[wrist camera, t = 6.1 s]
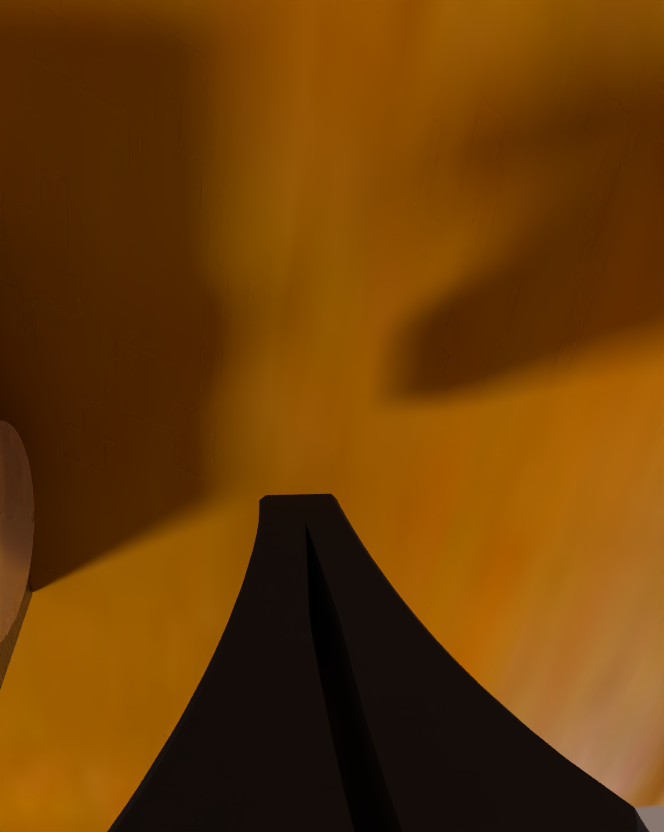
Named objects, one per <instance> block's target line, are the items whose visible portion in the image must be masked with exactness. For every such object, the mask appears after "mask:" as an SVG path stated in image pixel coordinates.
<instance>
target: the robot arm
mask: <svg viewBox="0 0 664 832" xmlns="http://www.w3.org/2000/svg"><path fill="white" fill-rule="evenodd" d="M107 832H649V831H648V829H647V828H646V826H645V825H644V823H643V821H642V820H641V818H640V817H639V815H638V813H637V812H636V810H635V808H634V807H633V806H631V805H630V804H629V803H627V802H626V801H625V800H623V799H622V798H620V797H619V796H618V795H616V794H615V793H613V792H612V791H611V790H609V789H608V788H606V787H605V786H604V785H602V784H601V783H599V782H598V781H597V780H595V779H594V778H592V777H591V776H590V775H588V774H587V773H586V772H584V771H583V770H581V769H580V768H579V767H577V766H576V765H574V764H573V763H572V762H570V761H569V760H568V759H566V758H565V757H564V756H562V755H561V754H560V753H559V752H557V751H556V750H555V749H554V748H552V747H551V746H550V745H549V744H548V743H546V742H545V741H544V740H543V739H541V738H540V737H539V736H538V735H536V734H535V733H534V732H533V731H531V730H530V729H529V728H528V727H527V726H526V725H525V724H523V723H522V722H521V721H520V720H519V719H518V718H517V717H516V716H514V715H513V714H512V713H511V712H510V711H509V710H508V709H507V708H506V707H504V706H503V705H502V704H501V703H500V702H499V701H498V700H497V699H495V698H494V697H493V696H492V695H491V694H490V693H489V692H488V691H486V690H485V689H484V688H483V687H482V686H481V685H480V684H479V683H478V682H477V681H476V680H475V679H474V678H473V677H472V676H471V675H470V674H469V673H468V672H467V671H466V670H465V669H464V668H463V667H462V666H461V665H460V664H459V663H458V662H457V661H456V660H455V659H454V658H453V657H452V656H451V655H450V654H449V653H448V652H447V651H446V650H445V649H444V647H443V646H442V645H441V644H440V643H439V642H438V641H437V640H436V639H435V638H434V637H433V635H432V634H431V633H430V632H429V631H428V630H427V629H426V627H425V626H424V625H423V624H422V623H421V622H420V620H419V619H418V618H417V617H416V616H415V614H414V613H413V612H412V611H411V609H410V608H409V607H408V606H407V604H406V603H405V602H404V601H403V600H402V598H401V597H400V596H399V594H398V593H397V592H396V590H395V589H394V588H393V587H392V585H391V584H390V583H389V581H388V580H387V578H386V577H385V576H384V574H383V573H382V571H381V570H380V569H379V567H378V566H377V564H376V563H375V561H374V560H373V559H372V557H371V556H370V554H369V553H368V551H367V550H366V548H365V547H364V545H363V544H362V542H361V541H360V539H359V537H358V536H357V534H356V533H355V531H354V529H353V528H352V526H351V524H350V523H349V521H348V519H347V518H346V516H345V514H344V512H343V511H342V509H341V507H340V505H339V503H338V501H337V499H336V498H335V497H334V496H333V495H332V494H299V495H266V496H264V497H263V498H262V499H260V500H259V524H258V529H257V535H256V539H255V543H254V548H253V552H252V555H251V558H250V561H249V565H248V568H247V571H246V575H245V578H244V581H243V584H242V587H241V590H240V592H239V595H238V598H237V600H236V603H235V605H234V608H233V611H232V613H231V616H230V618H229V621H228V623H227V626H226V628H225V630H224V633H223V635H222V637H221V640H220V642H219V644H218V646H217V648H216V651H215V653H214V655H213V657H212V659H211V661H210V663H209V665H208V667H207V669H206V671H205V673H204V675H203V677H202V679H201V681H200V683H199V685H198V687H197V689H196V690H195V692H194V694H193V696H192V698H191V700H190V702H189V704H188V705H187V707H186V709H185V711H184V713H183V715H182V716H181V718H180V720H179V722H178V723H177V725H176V727H175V729H174V730H173V732H172V734H171V735H170V737H169V739H168V740H167V742H166V743H165V745H164V747H163V748H162V750H161V751H160V753H159V755H158V756H157V758H156V759H155V761H154V763H153V764H152V766H151V767H150V769H149V771H148V772H147V774H146V775H145V777H144V779H143V780H142V782H141V783H140V785H139V787H138V788H137V790H136V791H135V793H134V794H133V796H132V797H131V799H130V800H129V802H128V803H127V805H126V806H125V807H124V809H123V810H122V812H121V813H120V814H119V816H118V817H117V819H116V820H115V822H114V823H113V824H112V826H111V827H110V829H109V830H108V831H107Z"/></svg>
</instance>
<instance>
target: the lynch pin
mask: <svg viewBox="0 0 664 832" xmlns="http://www.w3.org/2000/svg"><path fill="white" fill-rule="evenodd" d="M33 537H34V494H33V483H32V476H31V470H30V465H29V461H28V457H27V453H26V450H25V447H24V445H23V442H22V440H21V438H20V436H19V434H18V433H17V431H16V430H15V429H14V428H13V426H12V425H10V424H9V423H8V422H5V421H3V420H0V642H1V641H2V640H3V639H4V638H5V636H6V635H7V633H8V632H9V630H10V628H11V627H12V625H13V623H14V620H15V618H16V616H17V613H18V611H19V608H20V605H21V602H22V599H23V596H24V592H25V588H26V584H27V580H28V575H29V570H30V564H31V557H32V548H33Z"/></svg>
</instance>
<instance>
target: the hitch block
mask: <svg viewBox="0 0 664 832" xmlns="http://www.w3.org/2000/svg"><path fill="white" fill-rule="evenodd" d="M31 597H32V591H31V587H30V583H29V579H28V580H27V584H26V588H25V592H24V596H23V599H22V602H21V605H20V608H19V611H18V613H17V616H16V618H15V620H14V623H13V625H12V627H11V628H10V630H9V632H8V633H7V635H6V636H5V638H4V639H3V640H2V641H1V642H0V689H1V686H2V683H3V680H4V677H5V674H6V671H7V668H8V665H9V662H10V659H11V656H12V653H13V650H14V647H15V644H16V641H17V638H18V635H19V632H20V629H21V626H22V623H23V621H24V618H25V615H26V612H27V609H28V606H29V603H30V600H31Z"/></svg>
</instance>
